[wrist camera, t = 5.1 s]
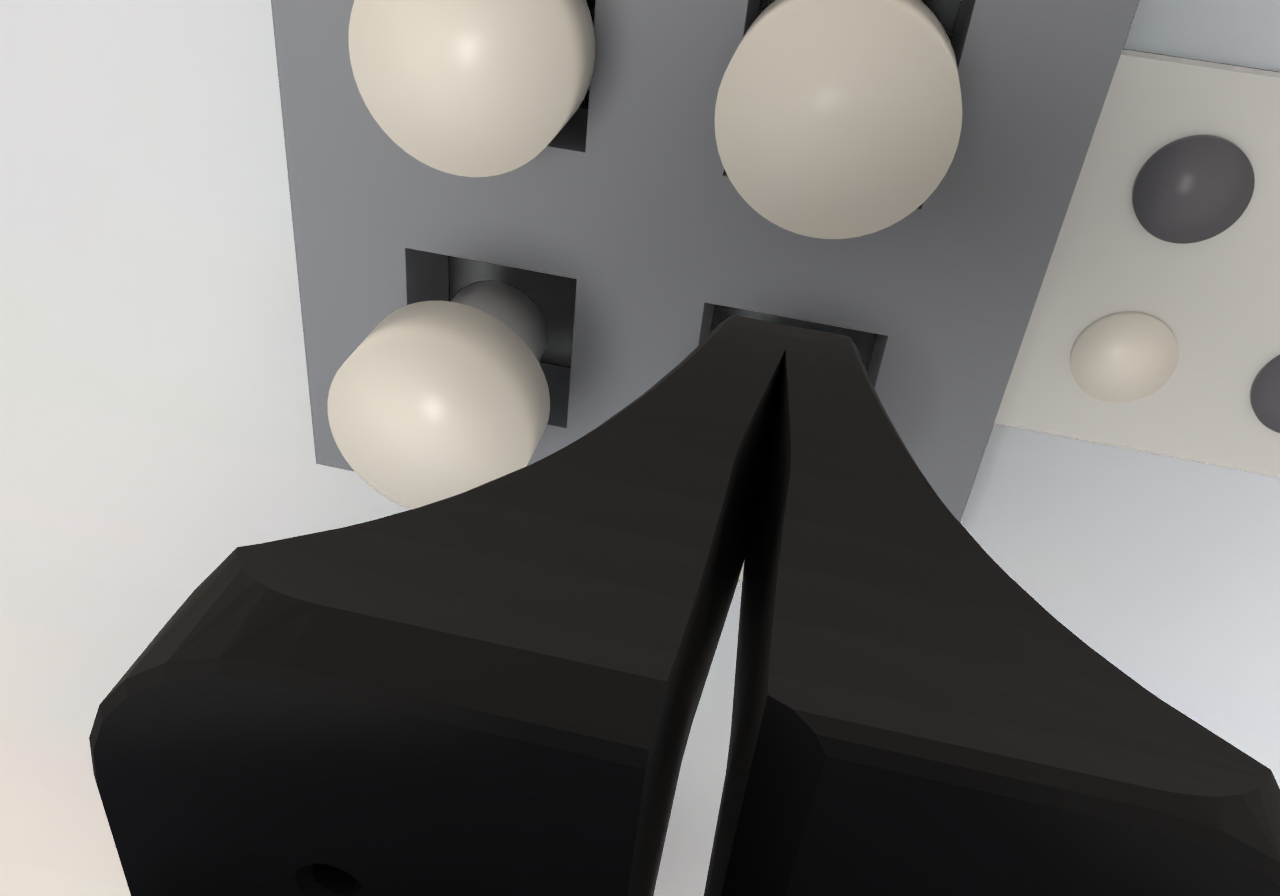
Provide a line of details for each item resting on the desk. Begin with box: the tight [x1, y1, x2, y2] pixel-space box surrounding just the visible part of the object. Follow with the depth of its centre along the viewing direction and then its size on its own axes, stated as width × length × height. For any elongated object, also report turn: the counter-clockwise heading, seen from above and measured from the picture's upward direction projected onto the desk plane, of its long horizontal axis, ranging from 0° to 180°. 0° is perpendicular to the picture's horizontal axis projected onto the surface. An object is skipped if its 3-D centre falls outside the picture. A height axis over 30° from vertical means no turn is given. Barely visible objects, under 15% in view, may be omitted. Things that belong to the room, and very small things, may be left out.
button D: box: [714, 0, 962, 239], centre depth 16 cm, size 3×3×4 cm
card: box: [994, 49, 1280, 478], centre depth 19 cm, size 7×7×1 cm
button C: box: [349, 0, 595, 177], centre depth 17 cm, size 3×3×4 cm
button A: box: [327, 281, 550, 510], centre depth 19 cm, size 3×3×4 cm
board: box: [271, 0, 1139, 522], centre depth 19 cm, size 13×13×2 cm
